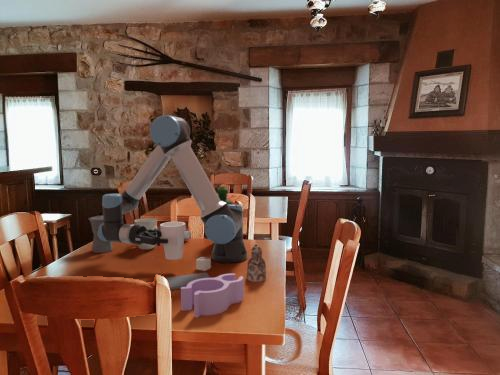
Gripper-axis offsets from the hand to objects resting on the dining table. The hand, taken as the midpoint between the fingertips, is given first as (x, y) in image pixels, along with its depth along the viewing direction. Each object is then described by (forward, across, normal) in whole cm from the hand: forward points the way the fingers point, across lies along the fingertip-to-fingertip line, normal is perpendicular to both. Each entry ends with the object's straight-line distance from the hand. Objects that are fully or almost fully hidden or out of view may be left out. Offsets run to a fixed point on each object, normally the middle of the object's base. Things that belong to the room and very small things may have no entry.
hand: (183, 238), depth 152 cm
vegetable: (-25, -42, -13) cm, 51 cm away
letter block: (+5, -7, -14) cm, 16 cm away
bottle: (-5, -45, -14) cm, 48 cm away
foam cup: (-4, 0, -8) cm, 9 cm away
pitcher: (-36, -26, -13) cm, 46 cm away
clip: (+24, +23, -14) cm, 36 cm away
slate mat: (+7, +9, -13) cm, 17 cm away
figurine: (+28, -3, -14) cm, 31 cm away
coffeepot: (-50, -14, -13) cm, 54 cm away
